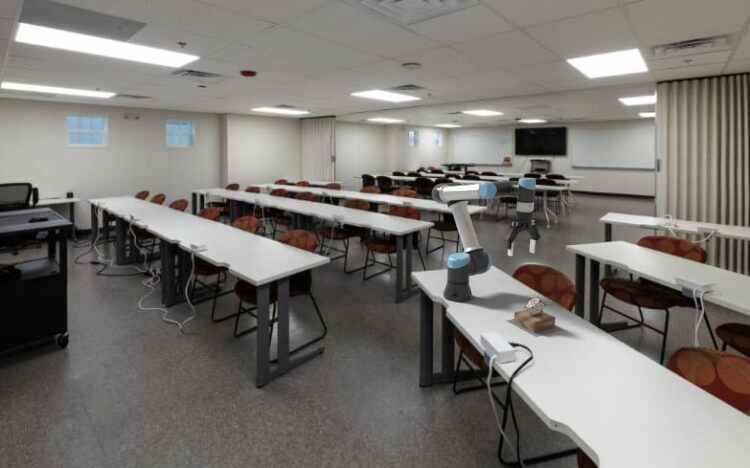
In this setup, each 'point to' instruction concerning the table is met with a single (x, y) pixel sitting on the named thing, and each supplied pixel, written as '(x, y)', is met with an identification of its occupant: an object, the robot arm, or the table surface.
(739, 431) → the table surface
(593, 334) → the table surface
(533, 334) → the build mat
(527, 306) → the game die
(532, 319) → the base block
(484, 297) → the table surface
